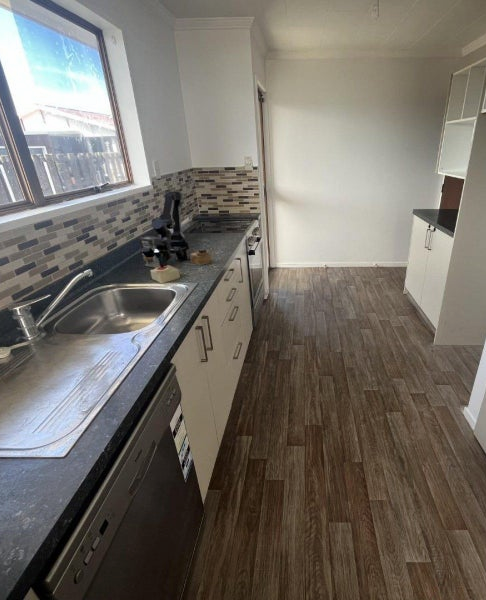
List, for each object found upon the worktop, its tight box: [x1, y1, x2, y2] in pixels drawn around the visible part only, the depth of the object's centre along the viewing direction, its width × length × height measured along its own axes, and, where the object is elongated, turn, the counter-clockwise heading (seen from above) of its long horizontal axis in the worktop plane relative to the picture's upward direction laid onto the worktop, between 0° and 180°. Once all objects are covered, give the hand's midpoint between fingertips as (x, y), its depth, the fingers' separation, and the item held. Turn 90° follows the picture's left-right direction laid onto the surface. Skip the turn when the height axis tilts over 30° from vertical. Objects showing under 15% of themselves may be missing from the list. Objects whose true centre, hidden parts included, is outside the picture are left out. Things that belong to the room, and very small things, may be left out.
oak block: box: [189, 249, 212, 267], centre depth 188 cm, size 11×8×7 cm
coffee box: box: [138, 235, 163, 269], centre depth 183 cm, size 9×6×16 cm
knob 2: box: [198, 247, 207, 253], centre depth 185 cm, size 4×4×2 cm
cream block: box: [150, 265, 181, 284], centre depth 166 cm, size 10×10×6 cm
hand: (161, 267), depth 162 cm, fingers closed, pressing on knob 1
